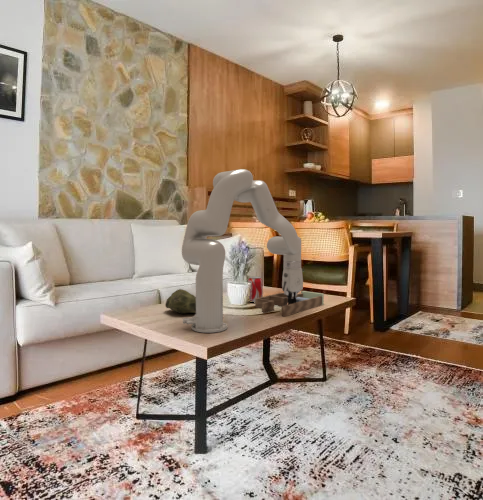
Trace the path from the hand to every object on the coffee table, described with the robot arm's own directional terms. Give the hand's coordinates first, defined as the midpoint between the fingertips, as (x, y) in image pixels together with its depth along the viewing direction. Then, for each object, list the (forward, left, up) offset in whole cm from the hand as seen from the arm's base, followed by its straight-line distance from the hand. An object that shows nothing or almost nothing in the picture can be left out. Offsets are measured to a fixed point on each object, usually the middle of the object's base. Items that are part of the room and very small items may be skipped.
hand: (291, 307), depth 172 cm
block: (+5, +3, -1) cm, 5 cm away
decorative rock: (-46, +3, -1) cm, 46 cm away
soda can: (-12, +18, -1) cm, 21 cm away
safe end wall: (+13, +10, -1) cm, 17 cm away
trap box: (-2, +4, -1) cm, 4 cm away
